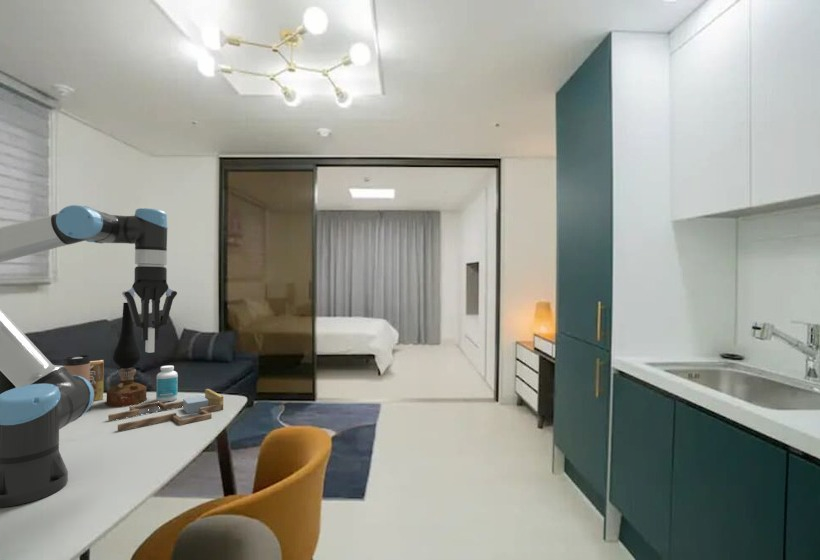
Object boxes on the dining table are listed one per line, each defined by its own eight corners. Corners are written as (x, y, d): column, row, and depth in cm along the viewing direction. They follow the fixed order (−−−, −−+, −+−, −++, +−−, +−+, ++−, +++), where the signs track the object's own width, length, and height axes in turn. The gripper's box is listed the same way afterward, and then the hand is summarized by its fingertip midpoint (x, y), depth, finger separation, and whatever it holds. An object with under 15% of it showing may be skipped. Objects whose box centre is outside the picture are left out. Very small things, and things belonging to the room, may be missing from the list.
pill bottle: (181, 399, 171) (181, 366, 171) (162, 403, 165) (162, 369, 165) (171, 396, 175) (171, 363, 175) (152, 400, 169) (152, 366, 169)
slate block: (187, 414, 154) (187, 403, 154) (183, 409, 159) (183, 399, 159) (208, 410, 158) (208, 400, 158) (203, 406, 164) (203, 395, 164)
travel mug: (78, 415, 150) (79, 359, 150) (57, 414, 150) (57, 358, 150) (94, 408, 158) (95, 355, 157) (74, 408, 158) (75, 354, 158)
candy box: (103, 397, 172) (103, 359, 172) (103, 399, 169) (103, 361, 169) (75, 400, 167) (75, 362, 167) (75, 403, 164) (75, 364, 163)
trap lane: (124, 437, 130) (124, 421, 130) (103, 415, 150) (103, 401, 150) (231, 413, 154) (231, 400, 154) (201, 397, 174) (201, 385, 174)
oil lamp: (115, 406, 172) (102, 309, 174) (156, 397, 175) (143, 302, 178) (99, 412, 158) (85, 307, 161) (144, 403, 162) (129, 300, 165)
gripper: (172, 266, 123) (171, 347, 123) (119, 265, 114) (118, 352, 114) (181, 266, 118) (180, 350, 118) (126, 265, 108) (125, 356, 109)
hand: (149, 351), depth 116 cm, fingers closed
